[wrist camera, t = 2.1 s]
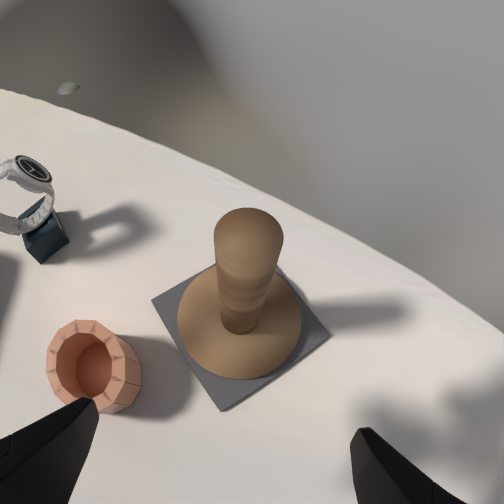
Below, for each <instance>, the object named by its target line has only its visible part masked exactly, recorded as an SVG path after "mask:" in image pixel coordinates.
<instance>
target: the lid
mask: <svg viewBox="0 0 504 504" xmlns="http://www.w3.org/2000/svg"><path fill="white" fill-rule="evenodd" d="M283 238H284V237H283V231H282V228H281V226H280V224H279V223H278V222H277V220H276V219H275V218H274V217H273V216H271V215H270V214H268V213H267V212H265V211H262V210H260V209H256V208H239V209H235V210H232V211H230V212H228V213H227V214H225V215H224V216H223V217H222V218H221V219H220V220H219V221H218V223H217V225H216V227H215V230H214V246H215V259H216V266H214V267H212V268H209V269H207V270H206V271H204V272H203V273H201V274H200V275H199V276H197V277H196V278H195V279H194V280H193V281H192V282H191V283H190V285H189V286H188V287H187V289H186V290H185V292H184V294H183V296H182V298H181V301H180V304H179V309H178V317H177V322H178V330H179V335H180V337H181V340H182V343H183V345H184V347H185V348H186V350H187V351H188V353H189V354H190V356H191V357H192V358H193V359H194V360H195V361H196V362H197V363H198V364H199V365H200V366H201V367H203V368H204V369H206V370H207V371H209V372H211V373H213V374H215V375H217V376H220V377H224V378H227V379H235V380H245V379H252V378H256V377H260V376H262V375H265V374H267V373H269V372H271V371H272V370H274V369H276V368H277V367H278V366H279V365H281V364H282V363H283V362H284V361H285V360H286V359H287V358H288V357H289V355H290V354H291V353H292V351H293V350H294V348H295V346H296V344H297V341H298V339H299V336H300V331H301V311H300V307H299V303H298V301H297V298H296V296H295V294H294V292H293V291H292V289H291V288H290V286H289V285H288V284H287V283H286V282H285V281H284V280H283V279H282V278H281V277H280V276H279V275H278V274H276V273H275V272H274V271H275V268H276V264H277V261H278V258H279V255H280V251H281V248H282V245H283Z"/></svg>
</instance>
